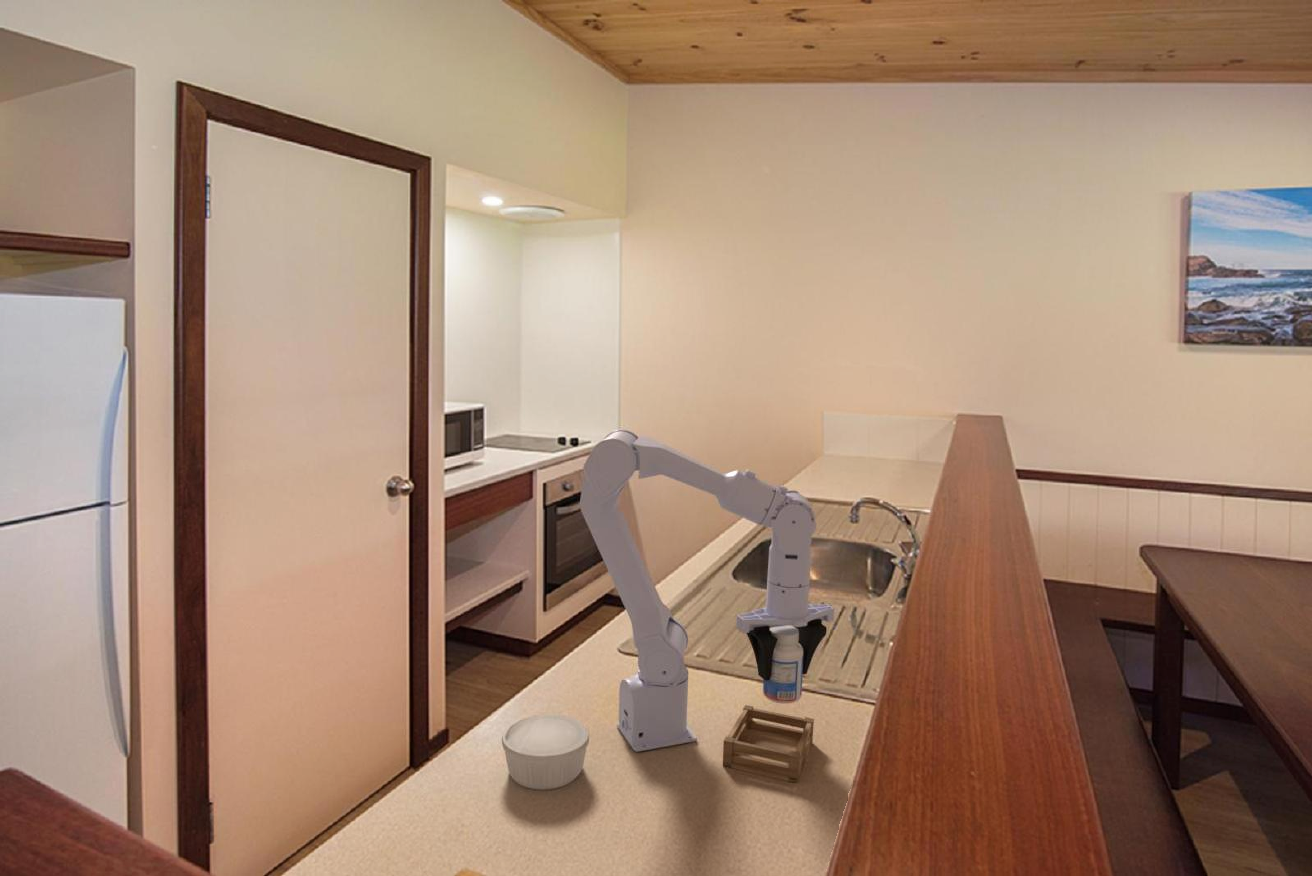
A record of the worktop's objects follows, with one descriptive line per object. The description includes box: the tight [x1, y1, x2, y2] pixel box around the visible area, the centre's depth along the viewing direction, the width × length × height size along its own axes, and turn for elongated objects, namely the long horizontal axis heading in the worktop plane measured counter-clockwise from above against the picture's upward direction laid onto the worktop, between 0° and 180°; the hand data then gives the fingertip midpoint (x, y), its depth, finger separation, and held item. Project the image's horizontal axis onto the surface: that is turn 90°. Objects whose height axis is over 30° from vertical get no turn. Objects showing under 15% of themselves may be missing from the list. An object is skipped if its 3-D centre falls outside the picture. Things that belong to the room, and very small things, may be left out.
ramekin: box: [501, 713, 590, 791], centre depth 106 cm, size 11×11×5 cm
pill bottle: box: [762, 625, 803, 705], centre depth 113 cm, size 6×5×10 cm
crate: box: [722, 704, 815, 784], centre depth 111 cm, size 11×10×4 cm
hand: (782, 674), depth 113 cm, fingers closed on pill bottle, 5 cm apart
